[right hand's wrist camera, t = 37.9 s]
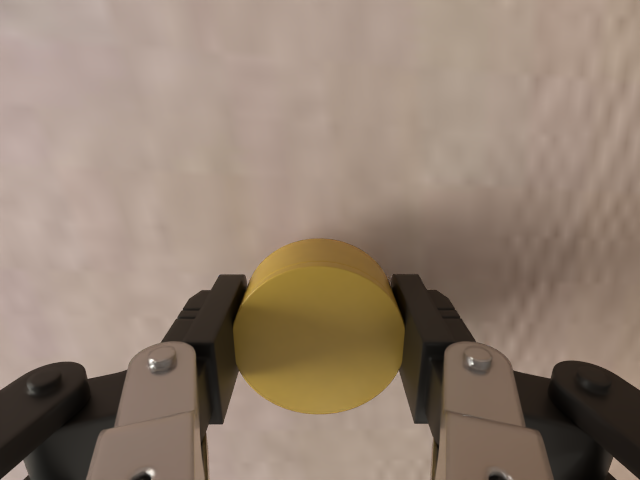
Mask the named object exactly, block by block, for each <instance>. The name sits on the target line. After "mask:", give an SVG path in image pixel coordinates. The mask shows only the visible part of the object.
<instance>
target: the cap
mask: <svg viewBox="0 0 640 480" xmlns="http://www.w3.org/2000/svg"><path fill="white" fill-rule="evenodd" d="M404 334H405V325H404V321H403V318H402V315H401V313H400V310H399V307H398V305H397V302H396V299H395V297H394V294H393V291H392V289H391V286H390V284H389V281H388V279H387V277H386V275H385V273H384V272H383V270H382V269H381V267H380V266H379V265H378V264H377V262H376V261H374V260H373V259H372V258H371V257H370V256H369V255H368V254H366V253H365V252H363V251H362V250H360V249H358V248H356V247H354V246H353V245H350V244H347V243H344V242H341V241H337V240H332V239H307V240H301V241H297V242H293V243H291V244H288V245H286V246H283V247H281V248H280V249H278V250H276V251H275V252H273V253H272V254H271V255H269V256H268V257H267V258H266V259H265V260H264V261H263V262H262V263H261V264H260V265H259V266H258V267H257V269H256V270H255V271H254V273H253V275H252V277H251V279H250V281H249V284H248V286H247V289H246V291H245V294H244V296H243V299H242V302H241V304H240V307H239V309H238V312H237V315H236V317H235V320H234V323H233V336H234V347H235V358H236V365H237V367H238V369H239V371H240V373H241V374H242V376H243V378H244V379H245V380H246V382H247V383H248V384H249V385H250V386H251V387H252V388H253V389H254V390H255V391H256V392H257V393H258V394H260V395H261V396H262V397H264V398H265V399H267V400H268V401H270V402H272V403H274V404H276V405H278V406H280V407H283V408H285V409H288V410H292V411H295V412H300V413H307V414H331V413H338V412H342V411H347V410H350V409H353V408H355V407H358V406H360V405H362V404H364V403H366V402H368V401H370V400H371V399H373V398H374V397H376V396H377V395H378V394H379V393H381V392H382V391H383V390H384V389H385V388H386V387H387V386H388V385H389V384H390V383H391V381H392V380H393V379H394V377H395V376H396V374H397V372H398V371H399V369H400V367H401V364H402V357H403V345H404Z"/></svg>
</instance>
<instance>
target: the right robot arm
mask: <svg viewBox="0 0 640 480" xmlns="http://www.w3.org/2000/svg"><path fill="white" fill-rule="evenodd" d="M246 289H247V281H246V276H245V275H219V277H218V279H217V280H216V282H215V284H214V286H213V287H212V289H211V290H202V291H200V292H199V293H197V294H196V295H194V296H193V297H191V298H190V299H189V300H188V302H187V303H186V305H185V306H184V308H183V311H181V312H180V314H179V315H178V319H176V320H175V322H174V323H173V325H172V326H171V328H170V329H169V331H168V332H167V334H166V335H165V337H164V338H163V340H162V342H161V343H159V344H155V345H152V346H150V347H148V348H146V349H144V350H142V351H141V352H139V353H138V354H137V355H135V356H134V357H133V358H132V360H131V361H130V363H129V365H128V369H127V370H125V371H122V372H118V373H114V374H110V375H105V376H100V377H95V378H90V379H87V375H86V371H85V368H84V367H83V366H82V365H81V364H78V363H75V362H58V363H52V364H49V365H45V366H42V367H39V368H37V369H34V370H32V371H30V372H28V373H26V374H25V375H23V376H21V377H20V378H18V379H17V380H15V381H14V382H12V383H11V384H9V385H8V386H6V387H5V388H3V389H2V390H0V479H1V478H3V477H4V476H5V475H6V474H7V473H8V472H10V471H11V470H12V469H13V468H14V467H15V466H16V465H18V464H19V463H20V462H21V461H22V460H24V463H25V466H26V469H27V471H28V474H29V475H28V476H27V477H26V478H25V479H24V480H210V477H209V457H208V443H207V436H206V430H207V427H208V425H209V424H223V422H224V419H225V415H226V412H227V409H228V405H229V402H230V399H231V395H232V392H233V389H234V385H235V382H236V378H237V375H238V372H239V369H238V367H237V365H236V358H235V347H234V336H233V323H234V320H235V317H236V315H237V312H238V309H239V307H240V304H241V302H242V299H243V296H244V294H245V291H246ZM391 289H392V291H393V294H394V297H395V299H396V302H397V305H398V307H399V310H400V313H401V315H402V318H403V321H404V325H405V334H404V345H403V357H402V364H401V367H400V369H399V372H400V376H401V379H402V382H403V386H404V389H405V393H406V396H407V400H408V403H409V407H410V410H411V413H412V417H413V420H414V424H429V427H430V430H431V433H432V436H433V443H432V457H431V477H430V480H616V479H615V478H614V477H613V476H612V475H611V474H610V473H609V472H608V471H609V468H610V465H611V462H612V459H613V457H614V458H615V459H617V460H618V461H619V462H620V463H621V464H622V465H624V466H625V467H626V468H627V469H628V470H629V471H630V472H632V473H633V474H634V475H635V476H636V477H637V478H639V479H640V390H638V389H637V388H635V387H634V386H632V385H631V384H629V383H628V382H626V381H625V380H623V379H622V378H620V377H619V376H617V375H616V374H614V373H612V372H610V371H608V370H606V369H604V368H602V367H599V366H597V365H594V364H590V363H586V362H581V361H563V362H560V363H558V364H556V365H555V366H554V368H553V372H552V375H551V379H549V378H544V377H540V376H535V375H530V374H525V373H521V372H517V371H513V369H512V365H511V363H510V361H509V360H508V358H507V357H506V356H505V355H503V354H502V353H501V352H499V351H498V350H496V349H494V348H492V347H490V346H488V345H485V344H481V343H477V342H476V341H475V339H474V338H473V336H472V335H471V333H470V331H469V330H468V328H467V327H466V325H465V324H464V322H463V321H462V319H460V316H459V314H458V313H457V311H456V310H455V308H454V307H453V305H452V303H451V302H450V300H449V299H448V298H447V297H445V296H444V295H443V294H441V293H440V292H438V291H437V290H427V289H426V288H425V286H424V284H423V282H422V280H421V279H420V277H419V275H418V274H393V276H392V281H391Z"/></svg>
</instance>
